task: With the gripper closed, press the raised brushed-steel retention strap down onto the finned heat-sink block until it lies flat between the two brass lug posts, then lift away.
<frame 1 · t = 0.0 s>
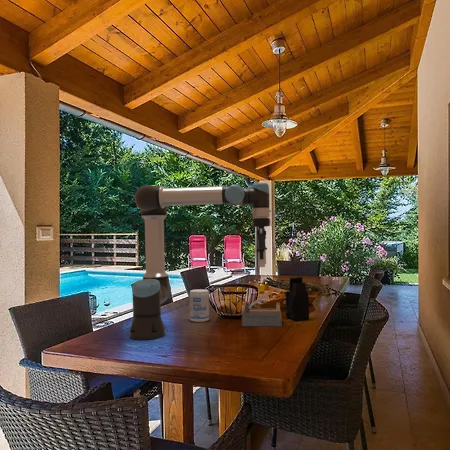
hand: (262, 265, 188), 28 cm above the table, fingers open, 13 cm apart
heatsink block: (262, 323, 198), on the table
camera: (295, 318, 208), on the table
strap: (259, 299, 199), point 11 cm above the table, hinge at 35.0°
supplement tub: (199, 320, 208), on the table
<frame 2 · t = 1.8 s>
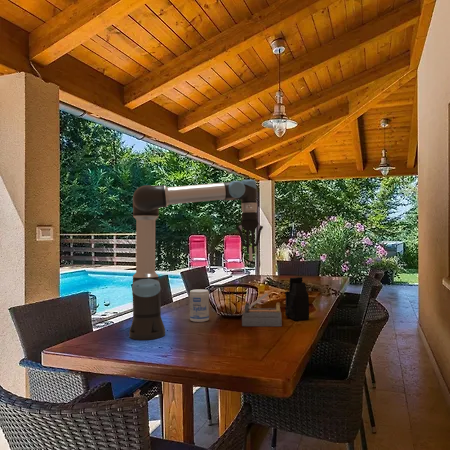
hand: (250, 260, 205), 29 cm above the table, fingers closed
nothing on the table moved.
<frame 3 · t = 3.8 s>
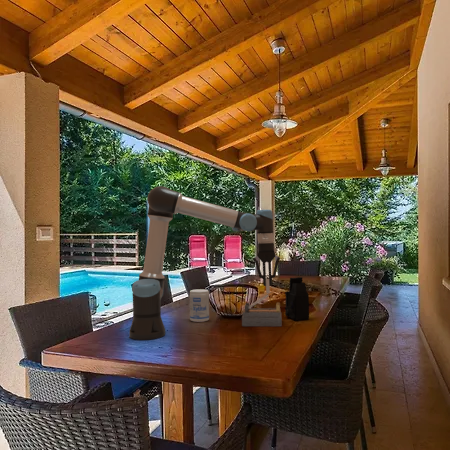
hand: (268, 292, 198), 14 cm above the table, fingers closed
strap: (259, 300, 199), point 11 cm above the table, hinge at 31.9°, touching gripper
everything else where it was.
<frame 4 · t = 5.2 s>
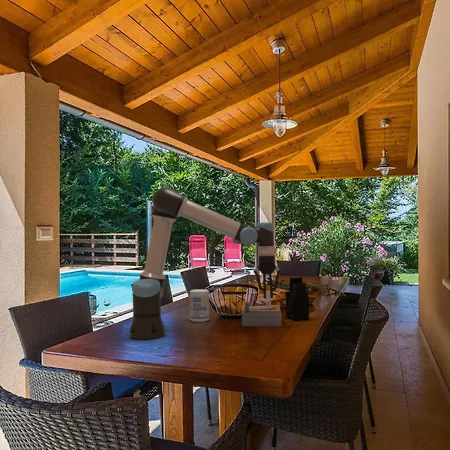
hand: (268, 305, 198), 8 cm above the table, fingers closed, pressing on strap
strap: (262, 307, 199), point 8 cm above the table, hinge at 4.4°, touching gripper
everything else where it was.
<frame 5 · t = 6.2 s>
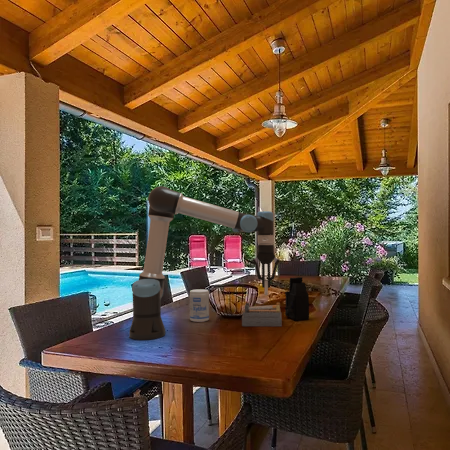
hand: (266, 294, 198), 13 cm above the table, fingers closed
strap: (262, 307, 199), point 7 cm above the table, hinge at 3.9°
everything else where it was.
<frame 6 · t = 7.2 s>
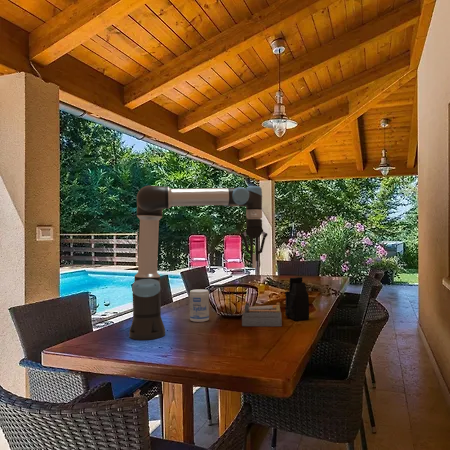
hand: (254, 267, 203), 26 cm above the table, fingers closed
nothing on the table moved.
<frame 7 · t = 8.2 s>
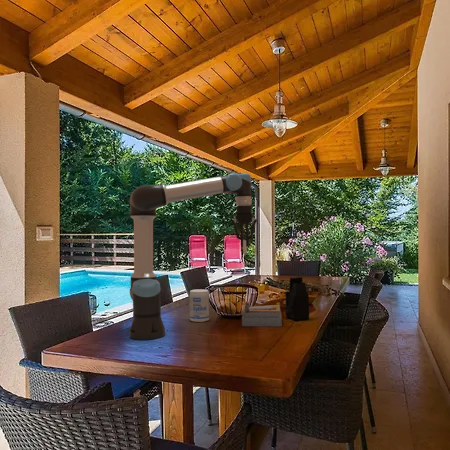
hand: (245, 253, 208), 32 cm above the table, fingers closed
nothing on the table moved.
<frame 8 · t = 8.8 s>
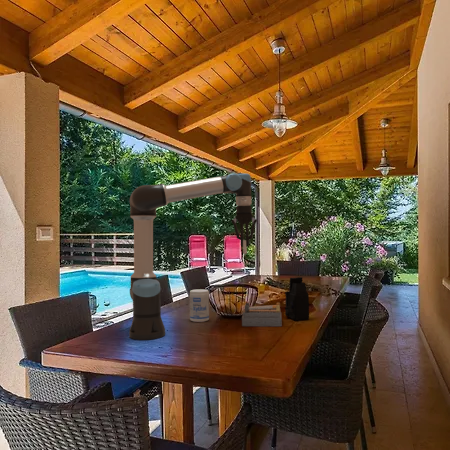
hand: (245, 253, 208), 32 cm above the table, fingers closed
nothing on the table moved.
at the end: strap at +4° (first picture: +35°); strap touching nothing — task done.
